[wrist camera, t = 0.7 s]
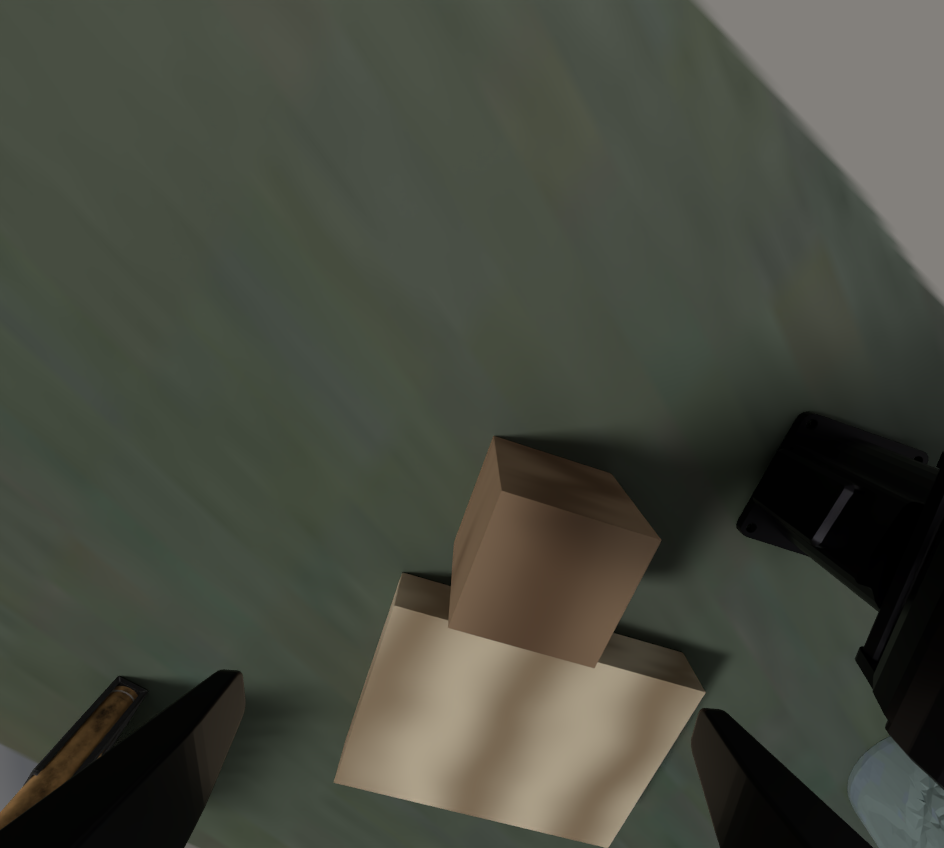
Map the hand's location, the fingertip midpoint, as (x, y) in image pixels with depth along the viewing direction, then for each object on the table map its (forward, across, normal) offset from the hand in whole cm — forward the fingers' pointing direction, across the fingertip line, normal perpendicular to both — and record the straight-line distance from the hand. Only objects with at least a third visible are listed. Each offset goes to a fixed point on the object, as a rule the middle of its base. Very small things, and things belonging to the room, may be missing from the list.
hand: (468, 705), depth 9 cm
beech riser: (+13, -3, +14) cm, 20 cm away
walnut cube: (+13, -3, +2) cm, 14 cm away
